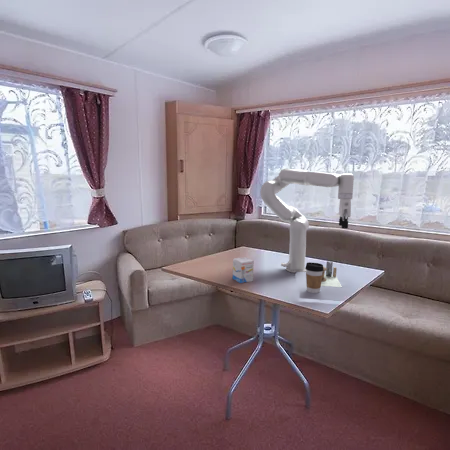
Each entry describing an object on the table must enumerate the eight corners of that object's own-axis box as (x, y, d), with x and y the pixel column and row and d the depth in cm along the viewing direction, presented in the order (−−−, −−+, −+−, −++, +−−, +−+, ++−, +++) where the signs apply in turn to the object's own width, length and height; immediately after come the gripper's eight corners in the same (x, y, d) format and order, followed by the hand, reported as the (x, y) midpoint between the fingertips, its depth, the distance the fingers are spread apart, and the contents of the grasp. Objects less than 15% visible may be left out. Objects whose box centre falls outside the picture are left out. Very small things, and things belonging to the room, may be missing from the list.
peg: (332, 276, 172) (333, 262, 170) (326, 276, 172) (327, 262, 171) (331, 275, 175) (332, 261, 174) (325, 274, 175) (326, 261, 174)
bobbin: (315, 281, 164) (315, 269, 163) (314, 277, 170) (314, 266, 169) (326, 282, 163) (327, 270, 162) (325, 278, 169) (326, 266, 168)
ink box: (239, 283, 164) (240, 262, 162) (232, 278, 171) (232, 258, 169) (253, 281, 168) (254, 260, 166) (245, 276, 175) (246, 256, 173)
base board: (316, 288, 158) (316, 285, 158) (312, 276, 177) (312, 274, 176) (342, 290, 156) (342, 287, 156) (335, 278, 175) (335, 275, 174)
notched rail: (315, 275, 174) (315, 266, 173) (314, 274, 176) (315, 266, 175) (336, 276, 172) (336, 268, 171) (335, 275, 174) (336, 267, 173)
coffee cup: (301, 290, 155) (303, 261, 152) (318, 290, 155) (319, 261, 153) (307, 297, 146) (309, 266, 144) (324, 296, 147) (326, 266, 145)
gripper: (355, 197, 162) (353, 229, 165) (349, 195, 179) (347, 224, 181) (340, 197, 164) (338, 229, 166) (335, 195, 180) (334, 224, 183)
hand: (343, 226), depth 174 cm, fingers open, 9 cm apart
